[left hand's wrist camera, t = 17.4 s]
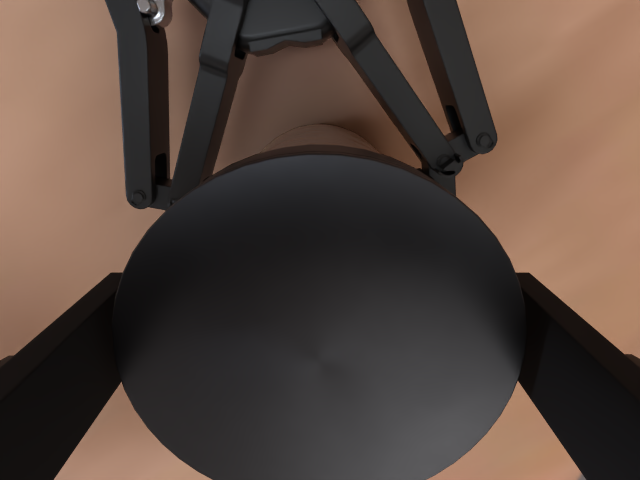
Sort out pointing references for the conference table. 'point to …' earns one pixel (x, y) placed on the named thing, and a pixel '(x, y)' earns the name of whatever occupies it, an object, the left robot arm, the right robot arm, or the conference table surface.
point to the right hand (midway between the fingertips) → (332, 305)
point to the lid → (319, 321)
